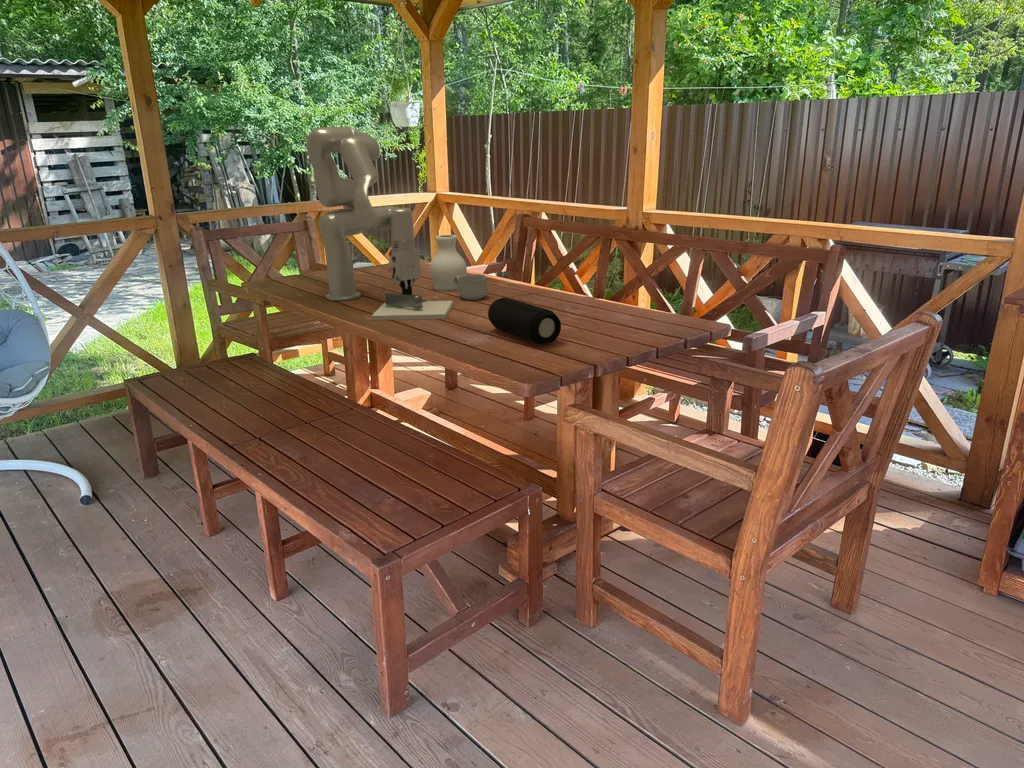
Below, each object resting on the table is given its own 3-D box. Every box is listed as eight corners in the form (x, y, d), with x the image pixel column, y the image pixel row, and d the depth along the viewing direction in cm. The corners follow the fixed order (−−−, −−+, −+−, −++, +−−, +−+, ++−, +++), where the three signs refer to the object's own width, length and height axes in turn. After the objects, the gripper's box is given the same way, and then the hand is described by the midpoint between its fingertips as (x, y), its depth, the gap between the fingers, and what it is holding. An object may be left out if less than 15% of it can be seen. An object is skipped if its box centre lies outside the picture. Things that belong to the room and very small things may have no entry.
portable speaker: (563, 343, 205) (563, 308, 202) (535, 349, 200) (534, 314, 197) (513, 325, 225) (512, 293, 222) (485, 331, 220) (484, 298, 217)
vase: (466, 291, 276) (463, 237, 270) (428, 292, 276) (424, 239, 270) (469, 283, 290) (466, 232, 283) (433, 284, 290) (429, 233, 283)
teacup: (493, 298, 263) (492, 276, 260) (470, 303, 256) (469, 280, 254) (470, 292, 273) (468, 271, 270) (446, 297, 266) (445, 276, 264)
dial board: (384, 306, 256) (384, 301, 255) (452, 304, 254) (452, 299, 254) (372, 320, 237) (371, 314, 236) (445, 318, 236) (445, 313, 235)
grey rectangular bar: (383, 305, 247) (382, 293, 245) (389, 303, 249) (388, 291, 248) (418, 309, 240) (417, 297, 239) (424, 306, 242) (423, 295, 241)
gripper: (394, 249, 238) (399, 304, 244) (426, 243, 249) (430, 296, 255) (379, 247, 242) (384, 302, 248) (411, 241, 253) (415, 293, 259)
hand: (407, 298), depth 251 cm, fingers closed
